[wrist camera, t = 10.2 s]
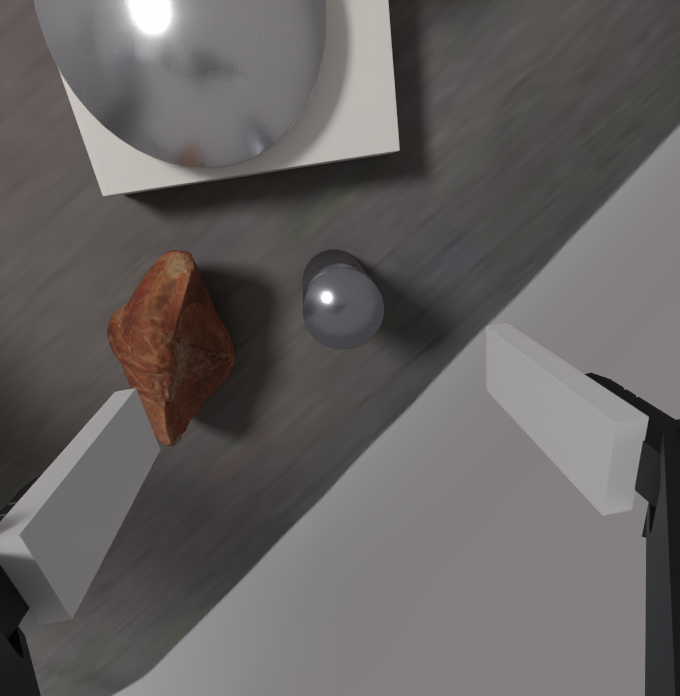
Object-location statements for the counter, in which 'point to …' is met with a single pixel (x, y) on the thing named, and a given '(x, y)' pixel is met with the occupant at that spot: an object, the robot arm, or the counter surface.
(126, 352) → the brown lumpy chunk
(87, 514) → the robot arm
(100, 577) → the counter surface
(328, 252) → the metal cylinder
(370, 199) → the counter surface
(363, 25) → the scale
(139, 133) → the pan
